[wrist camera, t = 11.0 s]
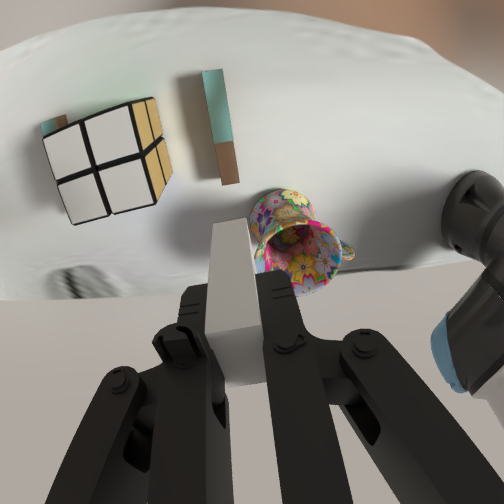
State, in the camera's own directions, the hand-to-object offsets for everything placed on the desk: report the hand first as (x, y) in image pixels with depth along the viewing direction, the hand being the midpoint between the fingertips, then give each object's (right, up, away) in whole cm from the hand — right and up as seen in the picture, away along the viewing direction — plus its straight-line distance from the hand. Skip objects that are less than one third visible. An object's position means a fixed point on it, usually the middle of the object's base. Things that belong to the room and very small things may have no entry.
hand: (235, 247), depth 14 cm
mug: (+6, +4, +26) cm, 27 cm away
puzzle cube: (-14, +13, +19) cm, 27 cm away
